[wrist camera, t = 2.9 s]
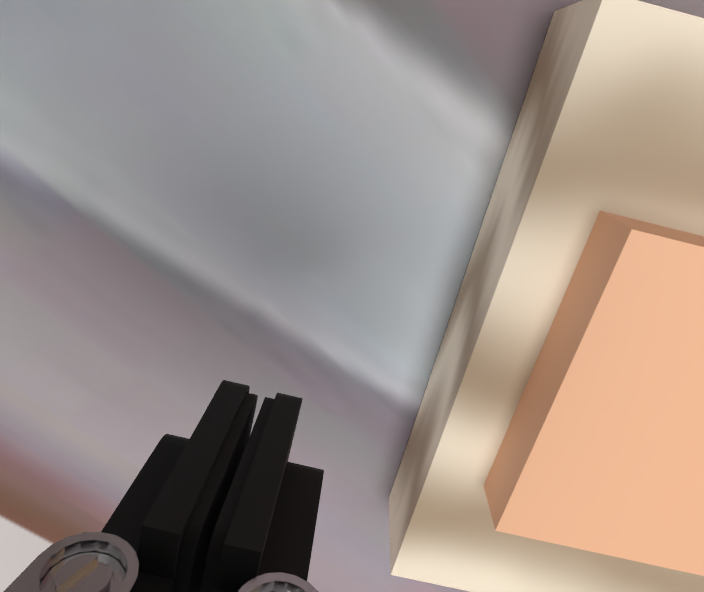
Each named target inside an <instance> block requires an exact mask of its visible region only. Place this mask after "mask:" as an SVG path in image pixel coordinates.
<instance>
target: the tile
mask: <svg viewBox="0 0 704 592" xmlns="http://www.w3.org/2000/svg"><path fill="white" fill-rule="evenodd" d="M484 489H485V493H486V497H487V501H488V505H489V508H490V512H491V516H492V520H493V524H494V528H495V531H499V532H504V533H508V534H513V535H517V536H522V537H527V538H531V539H536V540H540V541H545V542H550V543H554V544H559V545H563V546H568V547H573V548H577V549H582V550H586V551H591V552H595V553H600V554H605V555H609V556H614V557H618V558H623V559H628V560H632V561H637V562H641V563H646V564H651V565H655V566H660V567H664V568H669V569H673V570H678V571H683V572H687V573H692V574H696V575H701V576H704V236H700V235H696V234H692V233H688V232H684V231H680V230H676V229H672V228H668V227H664V226H660V225H656V224H652V223H648V222H644V221H640V220H636V219H632V218H628V217H624V216H620V215H616V214H612V213H608V212H604V211H600V212H599V214H598V216H597V219H596V221H595V224H594V226H593V228H592V231H591V233H590V235H589V238H588V240H587V242H586V245H585V247H584V250H583V252H582V254H581V257H580V259H579V261H578V264H577V266H576V268H575V271H574V273H573V276H572V278H571V280H570V283H569V285H568V287H567V290H566V292H565V294H564V297H563V299H562V302H561V304H560V306H559V309H558V311H557V313H556V316H555V318H554V320H553V323H552V325H551V328H550V330H549V332H548V335H547V337H546V339H545V342H544V344H543V346H542V349H541V351H540V353H539V356H538V358H537V361H536V363H535V365H534V368H533V370H532V372H531V375H530V377H529V379H528V382H527V384H526V387H525V389H524V391H523V394H522V396H521V398H520V401H519V403H518V405H517V408H516V410H515V413H514V415H513V417H512V420H511V422H510V424H509V427H508V429H507V431H506V434H505V436H504V439H503V441H502V443H501V446H500V448H499V450H498V453H497V455H496V457H495V460H494V462H493V465H492V467H491V469H490V472H489V474H488V476H487V479H486V481H485V483H484Z"/></svg>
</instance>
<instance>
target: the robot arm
mask: <svg viewBox="0 0 704 592" xmlns="http://www.w3.org/2000/svg"><path fill="white" fill-rule="evenodd" d="M249 388H250V387H249V386H247V385H243V384H239V383H234V382H230V381H226V380H223V381H222V383H221V384H220V386H219V388H218V390H217V391H216V393H215V395H214V397H213V399H212V400H211V402H210V404H209V406H208V407H207V409H206V411H205V413H204V415H203V416H202V418H201V420H200V422H199V424H198V425H197V427H196V429H195V431H194V432H193V434H192V436H191V438H190V439H187V438H182V437H178V436H174V435H169V434H166V435H164V436H163V437H162V439H161V440H160V441H159V443H158V445H157V446H156V448H155V449H154V451H153V452H152V454H151V455H150V457H149V458H148V460H147V462H146V463H145V465H144V466H143V468H142V469H141V471H140V472H139V474H138V476H137V477H136V479H135V480H134V482H133V483H132V485H131V486H130V488H129V490H128V491H127V493H126V494H125V496H124V497H123V499H122V500H121V502H120V504H119V505H118V507H117V508H116V510H115V511H114V513H113V514H112V516H111V517H110V519H109V521H108V522H107V524H106V525H105V527H104V528H103V530H102V531H101V532H85V533H81V534H77V535H73V536H69V537H66V538H64V539H62V540H60V541H58V542H56V543H54V544H52V545H51V546H50V547H49V548H47V549H46V550H45V551H44V552H42V553H41V554H40V555H39V556H38V557H37V558H36V559H35V560H34V561H33V562H32V563H31V564H30V565H29V566H28V567H27V568H26V569H25V570H24V571H23V572H22V573H21V574H20V576H19V577H17V578H16V580H14V581H13V582H12V584H11V585H10V586H9V587H8V588H7V589H6V590H5V591H4V592H318V591H317V590H316V589H315V588H314V587H313V586H312V585H311V584H310V583H309V582H307V577H308V571H309V564H310V558H311V551H312V545H313V538H314V532H315V525H316V519H317V513H318V506H319V500H320V493H321V487H322V480H323V473H324V470H321V469H317V468H312V467H308V466H304V465H299V464H295V463H291V462H288V458H289V453H290V449H291V445H292V441H293V437H294V432H295V428H296V424H297V420H298V416H299V411H300V407H301V403H302V398H298V397H294V396H290V395H285V394H281V393H277V394H276V397H275V399H271V398H267V397H265V399H264V402H263V404H262V407H261V409H260V412H259V414H258V417H257V420H256V422H255V425H254V427H253V430H252V432H251V428H252V423H253V418H254V413H255V408H256V403H257V397H258V396H257V395H254V394H250V393H249ZM250 433H251V435H250Z"/></svg>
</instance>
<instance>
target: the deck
mask: <svg viewBox="0 0 704 592" xmlns="http://www.w3.org/2000/svg"><path fill="white" fill-rule="evenodd" d="M600 211H604V212H608V213H612V214H616V215H620V216H624V217H628V218H632V219H636V220H640V221H644V222H648V223H652V224H656V225H660V226H664V227H668V228H672V229H676V230H680V231H684V232H688V233H692V234H696V235H700V236H704V18H701V17H697V16H693V15H689V14H686V13H682V12H678V11H675V10H671V9H667V8H664V7H660V6H656V5H653V4H649V3H645V2H642V1H638V0H582V1H580V2H577V3H574V4H572V5H569V6H567V7H564V8H561V9H559V10H556V11H554V14H553V17H552V19H551V22H550V25H549V28H548V31H547V34H546V37H545V40H544V43H543V46H542V49H541V52H540V55H539V58H538V61H537V64H536V67H535V69H534V72H533V75H532V78H531V81H530V84H529V87H528V90H527V93H526V96H525V99H524V102H523V105H522V108H521V111H520V114H519V117H518V119H517V122H516V125H515V128H514V131H513V134H512V137H511V140H510V143H509V146H508V149H507V152H506V155H505V158H504V161H503V164H502V167H501V169H500V172H499V175H498V178H497V181H496V184H495V187H494V190H493V193H492V196H491V199H490V202H489V205H488V208H487V211H486V214H485V217H484V219H483V222H482V225H481V228H480V231H479V234H478V237H477V240H476V243H475V246H474V249H473V252H472V255H471V258H470V261H469V264H468V267H467V270H466V272H465V275H464V278H463V281H462V284H461V287H460V290H459V293H458V296H457V299H456V302H455V305H454V308H453V311H452V314H451V317H450V320H449V322H448V325H447V328H446V331H445V334H444V337H443V340H442V343H441V346H440V349H439V352H438V355H437V358H436V361H435V364H434V367H433V370H432V372H431V375H430V378H429V381H428V384H427V387H426V390H425V393H424V396H423V399H422V402H421V405H420V408H419V411H418V414H417V417H416V420H415V422H414V425H413V428H412V431H411V434H410V437H409V440H408V443H407V446H406V449H405V452H404V455H403V458H402V461H401V464H400V467H399V470H398V472H397V475H396V478H395V481H394V484H393V487H392V490H391V493H390V496H389V528H390V565H391V575H395V576H399V577H404V578H409V579H414V580H418V581H423V582H428V583H432V584H437V585H442V586H447V587H451V588H456V589H461V590H466V591H470V592H704V576H701V575H696V574H692V573H687V572H683V571H678V570H673V569H669V568H664V567H660V566H655V565H651V564H646V563H641V562H637V561H632V560H628V559H623V558H618V557H614V556H609V555H605V554H600V553H595V552H591V551H586V550H582V549H577V548H573V547H568V546H563V545H559V544H554V543H550V542H545V541H540V540H536V539H531V538H527V537H522V536H517V535H513V534H508V533H504V532H499V531H495V528H494V524H493V520H492V516H491V512H490V508H489V505H488V501H487V497H486V493H485V489H484V483H485V481H486V479H487V476H488V474H489V472H490V469H491V467H492V465H493V462H494V460H495V457H496V455H497V453H498V450H499V448H500V446H501V443H502V441H503V439H504V436H505V434H506V431H507V429H508V427H509V424H510V422H511V420H512V417H513V415H514V413H515V410H516V408H517V405H518V403H519V401H520V398H521V396H522V394H523V391H524V389H525V387H526V384H527V382H528V379H529V377H530V375H531V372H532V370H533V368H534V365H535V363H536V361H537V358H538V356H539V353H540V351H541V349H542V346H543V344H544V342H545V339H546V337H547V335H548V332H549V330H550V328H551V325H552V323H553V320H554V318H555V316H556V313H557V311H558V309H559V306H560V304H561V302H562V299H563V297H564V294H565V292H566V290H567V287H568V285H569V283H570V280H571V278H572V276H573V273H574V271H575V268H576V266H577V264H578V261H579V259H580V257H581V254H582V252H583V250H584V247H585V245H586V242H587V240H588V238H589V235H590V233H591V231H592V228H593V226H594V224H595V221H596V219H597V216H598V214H599V212H600Z"/></svg>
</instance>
